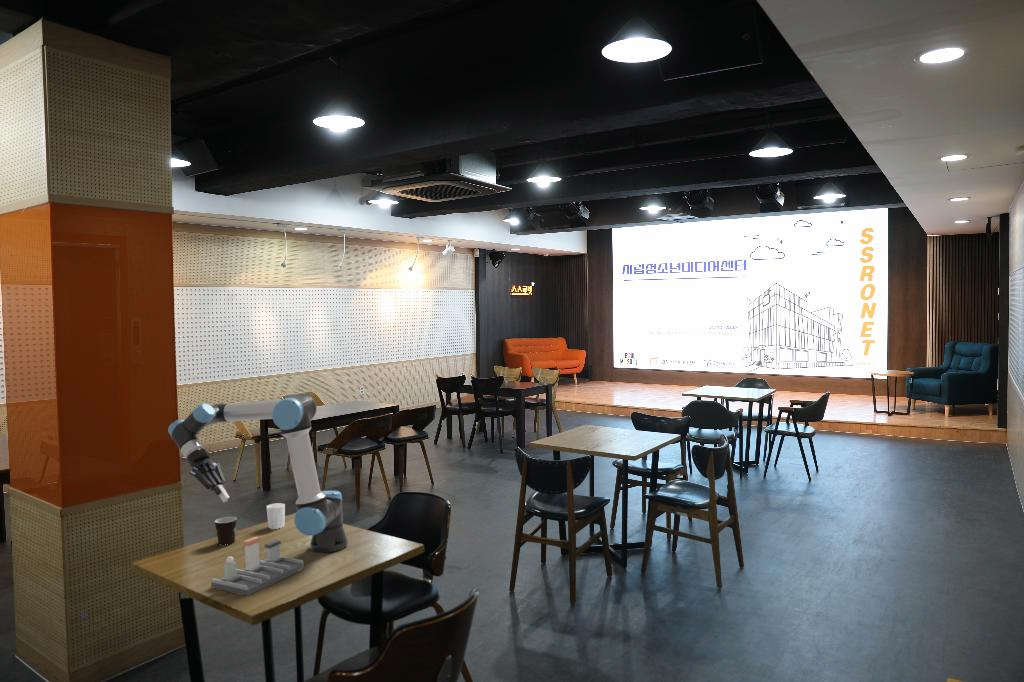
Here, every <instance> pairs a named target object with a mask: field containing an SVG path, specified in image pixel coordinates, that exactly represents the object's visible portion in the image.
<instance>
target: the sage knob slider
mask: <svg viewBox="0 0 1024 682" xmlns="http://www.w3.org/2000/svg"><path fill="white" fill-rule="evenodd" d="M225 562H226V564H224V565H223V570H224V572H223V573H224V576H223V577H224V578H222V577H221V578H222V579H221V580H223V581H227V582H234V581H236V580H238V579H240V578H241V577H240V575H237V569H238V568H237V561H235V558H234V557H233V556H231V555H230V556H227V558H226V560H225Z"/></svg>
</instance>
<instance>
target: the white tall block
mask: <svg viewBox="0 0 1024 682" xmlns="http://www.w3.org/2000/svg"><path fill="white" fill-rule="evenodd" d="M260 542H261V537H260V536H254V537H251V538H248V539H245V540H243V544H242V545H243V547H244V555H245V557H244V558H245V559H244V560H245V567H246V568H245V567H244V568H245V569H244V570H245V571H250V572H256V571H258V570H260V569H262V566H260V560H261V559H260V545H259V544H260Z"/></svg>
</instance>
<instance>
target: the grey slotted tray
mask: <svg viewBox="0 0 1024 682" xmlns="http://www.w3.org/2000/svg"><path fill="white" fill-rule="evenodd" d="M280 557H282V560H280V561H278V562H276V563H272V562H267V561H265V560H266V559H267V557H265V558H264V559H259V560H260V566H262V569H260V570H258V571H256V572H250V571H245V570H244V569H245V568H246V566H245V567H242V568H240V569H239V568H237V575H240V577H241V578H240V579H238V580H236V581H234V582H227V581H223V580H221V579H222V578H224V576H222V577H220V578H211V582H210V586H211V587H214V588H213V589H215V588H217V589H216V590H219V589H221V590H220V591H223V592H224V591H225V592H228V591H229V593H234V594H237V595H241V594H242V596H245V597H246V596H250V594H251V595H253V594H254V592H255V593H256V591H257V592H258V591H259V592H260V591H261V590H262V588H263V589H265V588H267V587H269V586H271V585H273V584H276V583H277V582H279V581H281V579H282V580H284V579H285V578H288V577H290V576H292V575H294V574H296V573H298V572H299V571H298V570H300V569H302V568H304V569H305V564H304V560H303V559H299V558H293V557H288V556H282V555H280ZM302 570H303V569H302ZM297 571H298V572H297ZM300 571H301V570H300ZM295 572H296V573H295ZM293 573H294V574H293ZM291 574H292V575H291ZM287 576H288V577H287ZM283 578H284V579H283ZM252 593H253V594H252Z"/></svg>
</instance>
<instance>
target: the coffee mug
mask: <svg viewBox="0 0 1024 682" xmlns="http://www.w3.org/2000/svg"><path fill="white" fill-rule="evenodd" d="M214 524H215V525H214V526H215V531H216V532H215V533H216V537H217V542H218V545H219V544H221V545H225V544H226V546H228V545H227V544H231V545H233V544H235V543H234V542H236V534H237V533H236V531H237V530H236V529H237V517H235V516H226V517H221V518H217V519H215V520H214ZM232 543H233V544H232ZM221 545H220V546H221Z"/></svg>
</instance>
